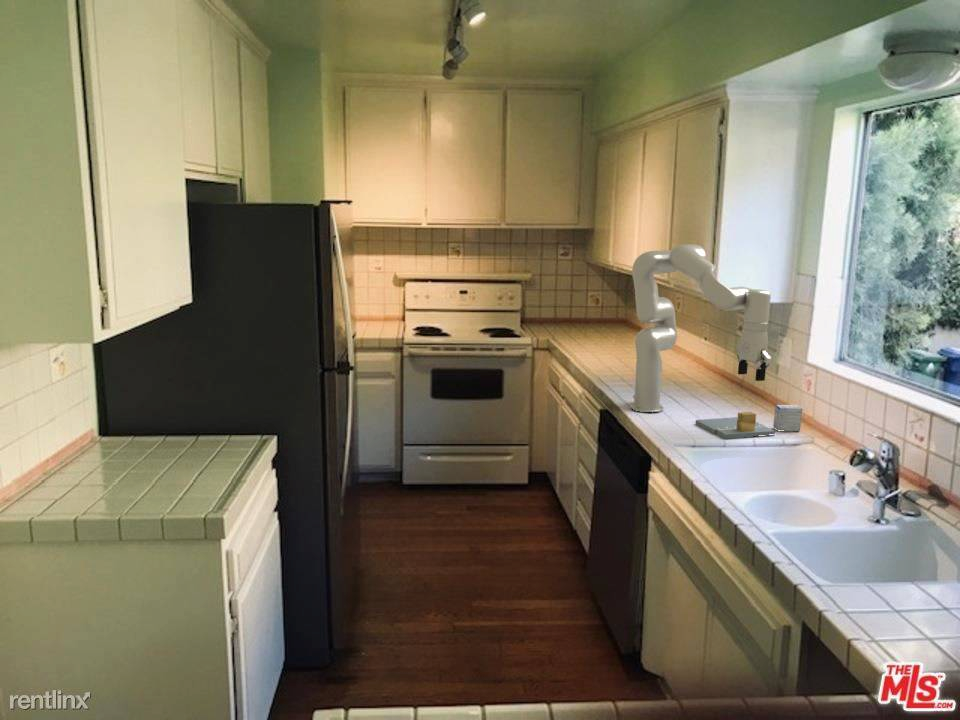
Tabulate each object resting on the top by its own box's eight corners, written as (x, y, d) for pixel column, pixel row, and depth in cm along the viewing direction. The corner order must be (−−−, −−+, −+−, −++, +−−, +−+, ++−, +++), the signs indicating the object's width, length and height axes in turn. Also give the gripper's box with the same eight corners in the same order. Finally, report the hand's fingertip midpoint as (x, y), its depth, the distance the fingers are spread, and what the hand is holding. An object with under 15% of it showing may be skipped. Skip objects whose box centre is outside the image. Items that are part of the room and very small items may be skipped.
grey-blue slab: (715, 434, 253) (717, 412, 252) (764, 430, 258) (766, 409, 256) (725, 439, 248) (727, 417, 246) (774, 435, 253) (776, 414, 251)
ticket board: (695, 424, 265) (695, 419, 264) (744, 420, 270) (744, 416, 269) (714, 434, 253) (714, 429, 253) (764, 430, 258) (765, 425, 258)
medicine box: (794, 428, 262) (797, 404, 260) (800, 432, 257) (803, 408, 256) (772, 428, 261) (775, 404, 260) (778, 432, 257) (780, 407, 255)
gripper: (730, 323, 252) (726, 372, 256) (761, 331, 236) (757, 383, 240) (749, 322, 254) (745, 371, 258) (782, 331, 238) (777, 382, 242)
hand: (750, 377), depth 249 cm, fingers open, 9 cm apart
